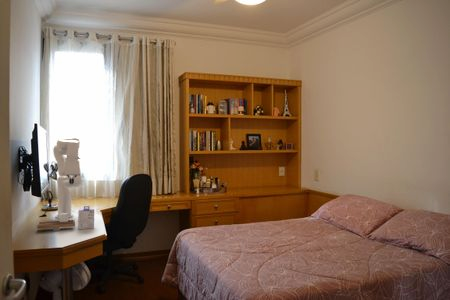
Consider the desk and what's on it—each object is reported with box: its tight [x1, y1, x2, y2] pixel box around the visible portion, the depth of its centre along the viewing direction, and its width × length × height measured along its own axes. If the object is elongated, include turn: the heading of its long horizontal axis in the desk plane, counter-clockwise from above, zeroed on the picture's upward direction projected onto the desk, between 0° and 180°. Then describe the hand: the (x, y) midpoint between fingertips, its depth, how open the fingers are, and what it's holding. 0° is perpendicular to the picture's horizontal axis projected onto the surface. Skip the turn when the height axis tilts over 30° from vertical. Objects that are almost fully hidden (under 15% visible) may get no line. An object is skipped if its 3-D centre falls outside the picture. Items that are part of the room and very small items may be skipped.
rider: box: [59, 213, 69, 223], centre depth 225 cm, size 4×5×6 cm
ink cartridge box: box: [77, 205, 95, 230], centre depth 229 cm, size 10×6×14 cm, turn 109°
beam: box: [36, 219, 76, 232], centre depth 223 cm, size 9×22×5 cm, turn 117°
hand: (71, 184), depth 241 cm, fingers closed
